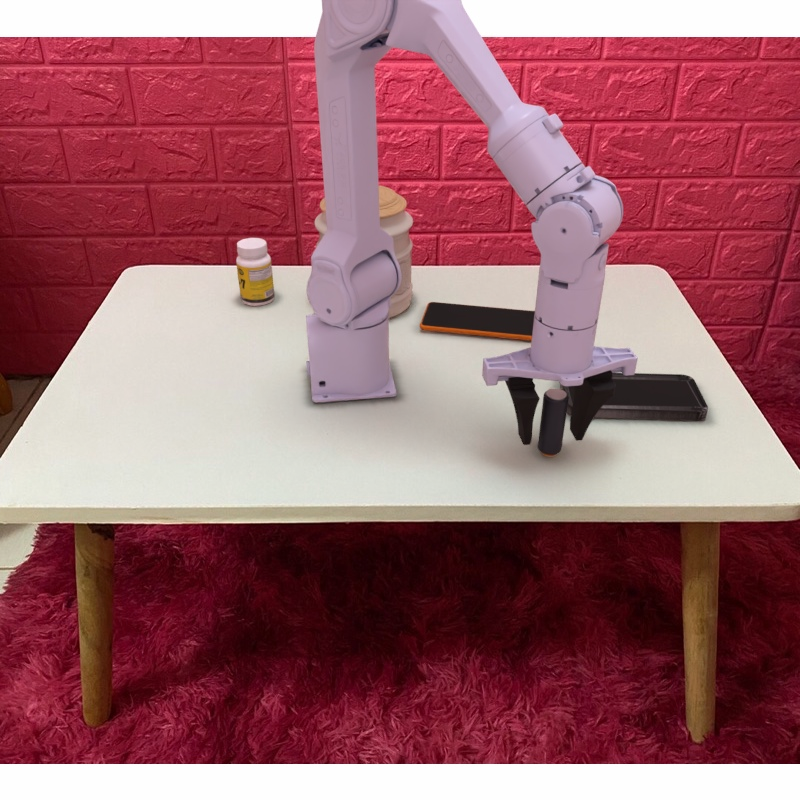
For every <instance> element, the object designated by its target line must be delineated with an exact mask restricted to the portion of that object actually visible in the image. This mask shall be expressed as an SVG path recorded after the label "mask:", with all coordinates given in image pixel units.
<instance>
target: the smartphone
mask: <svg viewBox="0 0 800 800" xmlns="http://www.w3.org/2000/svg"><path fill="white" fill-rule="evenodd" d="M534 314H535V310H528V309H527V310H525V309H517V308H516V309H514V308H507V307H506V308H504V307H494V306H484V305H483V306H482V305H471V304H460V303H452V302H451V303H450V302H438V301H430V302H428V303H427V304H426V306H425V310H424V313H423V315H422V318H421V321H420V323H419V328H420V329H421V330H423V331H429V332H439V333H440V332H441V333H450V334H462V335H472V336H481V337H490V338H502V339H510V340H511V339H512V340H523V341H531V342H532V333H533V323H534Z"/></svg>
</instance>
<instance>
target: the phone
mask: <svg viewBox="0 0 800 800" xmlns="http://www.w3.org/2000/svg"><path fill="white" fill-rule="evenodd" d="M612 379H613V381H614V382H615V384H616V388H615V392H614V395H613V396H612V397H611V398H609V399H608V400H607V401H606V402H605V403H604V404H603V406H602V407H601V408H600V409H599V411H598V412H597V413H596V415H595V416H594V418H597V419H598V418H599V419H604V418H605V419H631V420H632V419H634V420H663V421H664V420H667V421H668V420H671V421H673V420H674V421H704V420H705V419H706V417H707V414H708V412H709V411H708V410H709V406H708V404H707V402H706V400H705V398H704V396H703V394H702V393H701V390H700V388H699V386H698V384H697V383H696V381H695V379H694V378H693V377H691V376H690V375H687V374H682V373H681V374H680V373H679V374H678V373H675V374H674V373H643V372H642V373H641V372H640V373H639V372H638V373H637V372H635V375H627V376H626V375H623V374H622V372H618V373H612ZM560 388H561V390H563V391H565V392H566V393H567V394H568V396H569V399H568V406H567V413H568V414H569V415H570V416H571V412H572V406H573V400H574V386H563V385H561V384H560Z"/></svg>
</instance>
